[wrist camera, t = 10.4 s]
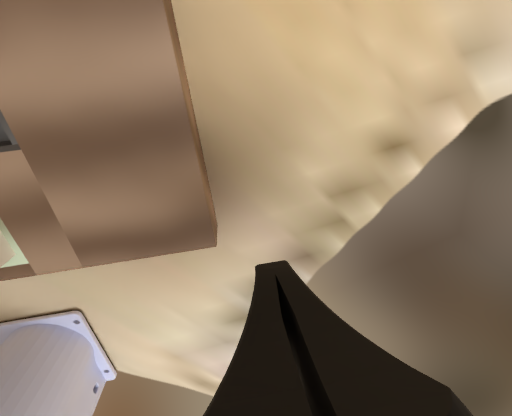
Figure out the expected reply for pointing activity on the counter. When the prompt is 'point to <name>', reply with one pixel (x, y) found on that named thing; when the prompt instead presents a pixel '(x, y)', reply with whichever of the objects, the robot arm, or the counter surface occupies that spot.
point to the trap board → (97, 137)
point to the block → (5, 250)
